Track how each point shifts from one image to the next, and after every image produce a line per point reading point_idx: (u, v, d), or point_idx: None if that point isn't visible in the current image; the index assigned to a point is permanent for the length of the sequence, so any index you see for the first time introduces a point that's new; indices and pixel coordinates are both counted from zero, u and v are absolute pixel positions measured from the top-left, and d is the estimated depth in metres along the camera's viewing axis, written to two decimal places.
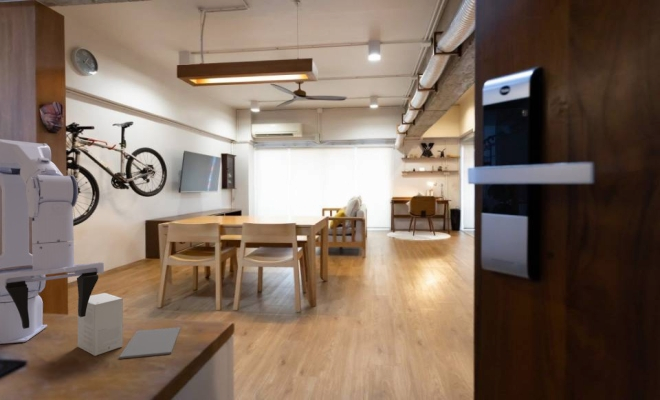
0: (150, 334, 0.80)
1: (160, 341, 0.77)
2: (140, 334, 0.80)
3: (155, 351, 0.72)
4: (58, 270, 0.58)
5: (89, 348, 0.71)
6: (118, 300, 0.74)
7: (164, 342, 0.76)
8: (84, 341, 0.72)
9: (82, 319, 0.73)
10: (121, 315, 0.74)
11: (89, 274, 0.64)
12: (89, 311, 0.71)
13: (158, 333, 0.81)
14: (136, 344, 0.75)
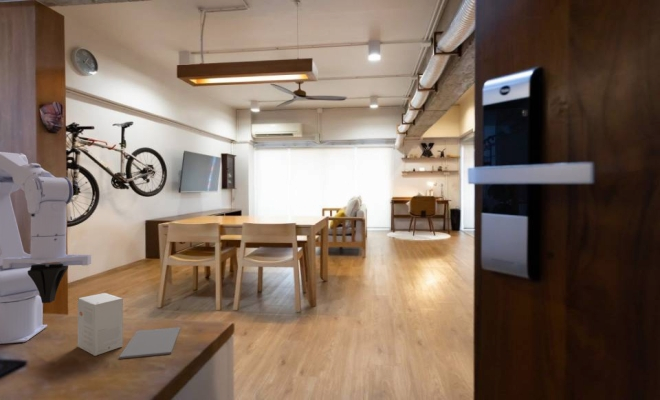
0: (150, 334, 0.80)
1: (160, 341, 0.77)
2: (140, 334, 0.80)
3: (155, 351, 0.72)
4: (38, 261, 0.67)
5: (89, 348, 0.71)
6: (118, 300, 0.74)
7: (164, 342, 0.76)
8: (84, 341, 0.72)
9: (82, 319, 0.73)
10: (121, 315, 0.74)
11: None
12: (89, 311, 0.71)
13: (158, 333, 0.81)
14: (136, 344, 0.75)
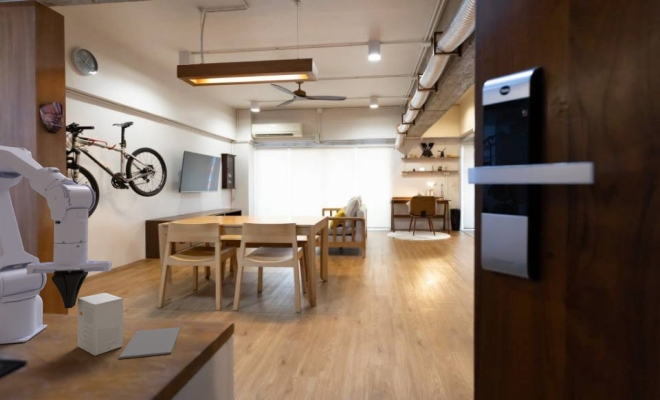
0: (150, 334, 0.80)
1: (160, 341, 0.77)
2: (140, 334, 0.80)
3: (155, 351, 0.72)
4: (62, 268, 0.69)
5: (89, 348, 0.71)
6: (118, 300, 0.74)
7: (164, 342, 0.76)
8: (84, 340, 0.72)
9: (82, 319, 0.73)
10: (121, 315, 0.74)
11: None
12: (89, 311, 0.71)
13: (158, 333, 0.81)
14: (136, 344, 0.75)
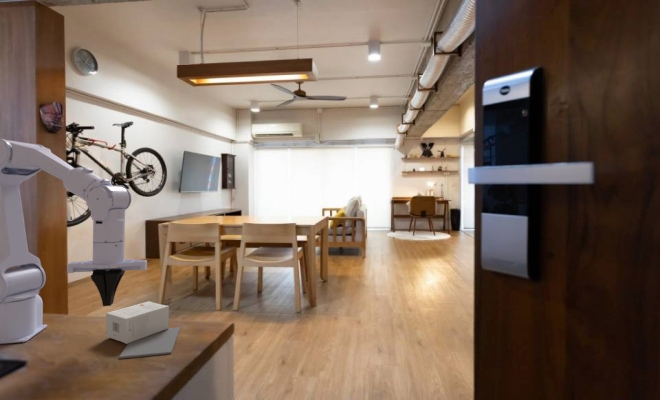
0: None
1: (160, 341, 0.77)
2: None
3: (155, 351, 0.72)
4: (102, 266, 0.71)
5: (124, 315, 0.77)
6: (168, 324, 0.83)
7: (164, 342, 0.76)
8: (123, 312, 0.79)
9: (138, 306, 0.83)
10: (155, 332, 0.81)
11: None
12: (155, 306, 0.83)
13: (158, 333, 0.81)
14: (136, 344, 0.75)
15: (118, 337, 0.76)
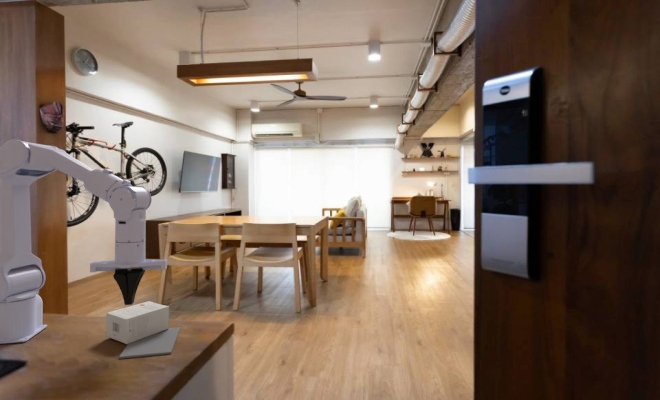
0: None
1: (160, 341, 0.77)
2: None
3: (155, 351, 0.72)
4: (125, 266, 0.72)
5: (124, 315, 0.77)
6: (168, 325, 0.83)
7: (164, 342, 0.76)
8: (123, 312, 0.78)
9: (139, 306, 0.83)
10: (155, 332, 0.81)
11: None
12: (156, 306, 0.83)
13: (158, 333, 0.81)
14: (136, 344, 0.75)
15: (118, 337, 0.76)
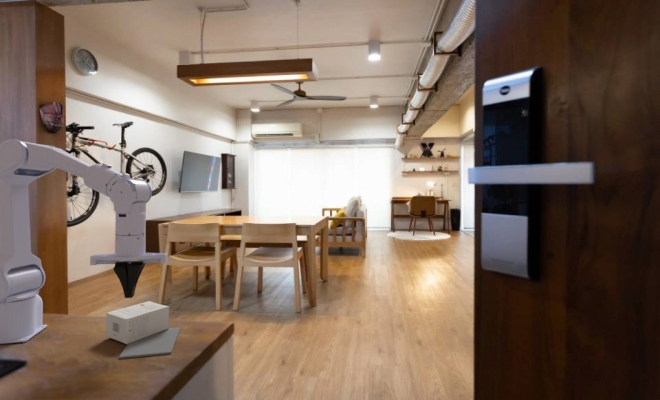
0: None
1: (160, 341, 0.77)
2: None
3: (155, 351, 0.72)
4: (125, 259, 0.72)
5: (124, 315, 0.77)
6: (168, 325, 0.83)
7: (164, 342, 0.76)
8: (123, 312, 0.78)
9: (139, 306, 0.83)
10: (155, 332, 0.81)
11: None
12: (156, 306, 0.83)
13: (158, 333, 0.81)
14: (136, 344, 0.75)
15: (118, 337, 0.76)
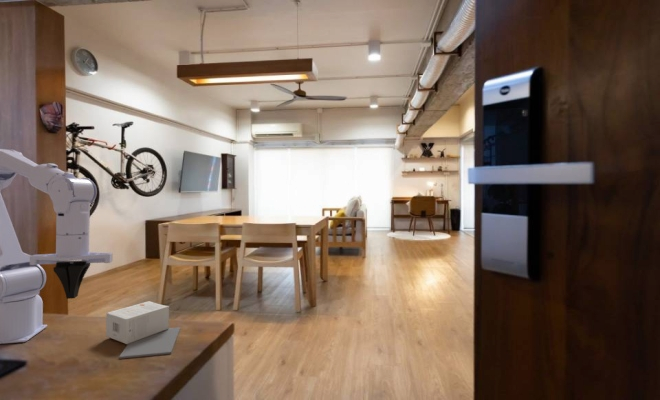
0: None
1: (160, 341, 0.77)
2: None
3: (155, 351, 0.72)
4: (64, 258, 0.71)
5: (124, 315, 0.77)
6: (168, 325, 0.83)
7: (164, 342, 0.76)
8: (123, 312, 0.78)
9: (139, 306, 0.83)
10: (155, 332, 0.81)
11: None
12: (156, 306, 0.83)
13: (158, 333, 0.81)
14: (136, 344, 0.75)
15: (118, 337, 0.76)
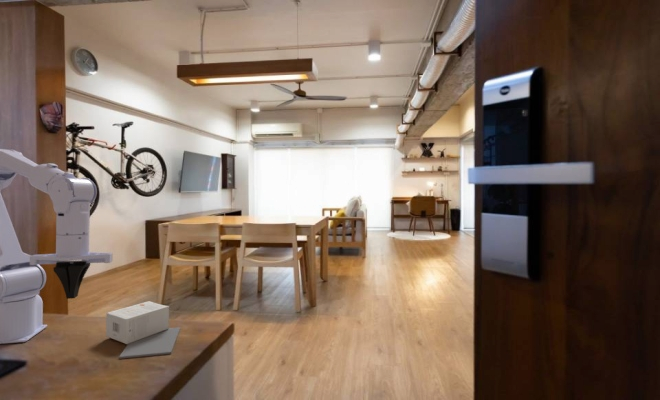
0: None
1: (160, 341, 0.77)
2: None
3: (155, 351, 0.72)
4: (64, 258, 0.71)
5: (124, 315, 0.77)
6: (168, 325, 0.83)
7: (164, 342, 0.76)
8: (123, 312, 0.78)
9: (139, 306, 0.83)
10: (155, 332, 0.81)
11: None
12: (156, 306, 0.83)
13: (158, 333, 0.81)
14: (136, 344, 0.75)
15: (118, 337, 0.76)
